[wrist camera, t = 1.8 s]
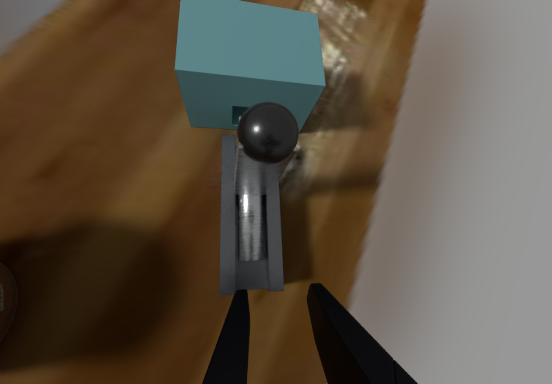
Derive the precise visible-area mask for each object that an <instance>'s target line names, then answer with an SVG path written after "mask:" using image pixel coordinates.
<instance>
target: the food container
mask: <svg viewBox="0 0 552 384" xmlns="http://www.w3.org/2000/svg"><path fill="white" fill-rule="evenodd" d="M17 306H18V288H17V284H16V280H15V278H14V276H13V274H12V273H11V271H10V270H9V269H8V268H7V267H6V266H5V265H4V264H3V263H2V262H0V342H1V340H2V339H3V337H4V336H5V334H6V333H7V331H8V330H9V328H10V327H11V325H12V321H13V318H14V315H15V312H16V309H17Z"/></svg>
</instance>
